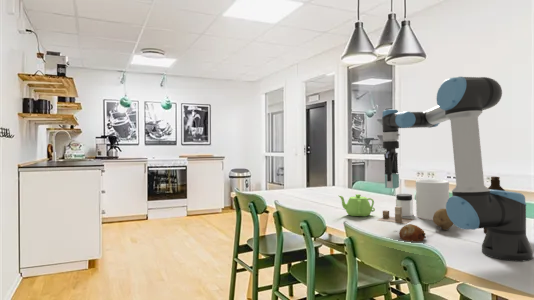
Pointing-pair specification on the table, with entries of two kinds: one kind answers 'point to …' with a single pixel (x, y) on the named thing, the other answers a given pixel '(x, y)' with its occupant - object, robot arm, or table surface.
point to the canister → (431, 197)
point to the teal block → (395, 180)
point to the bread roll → (411, 233)
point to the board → (392, 219)
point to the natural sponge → (442, 219)
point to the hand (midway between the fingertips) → (391, 186)
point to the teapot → (358, 206)
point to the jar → (405, 204)
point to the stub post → (385, 214)
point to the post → (398, 213)
